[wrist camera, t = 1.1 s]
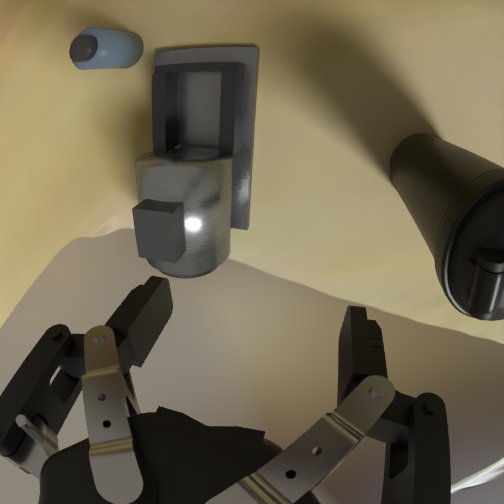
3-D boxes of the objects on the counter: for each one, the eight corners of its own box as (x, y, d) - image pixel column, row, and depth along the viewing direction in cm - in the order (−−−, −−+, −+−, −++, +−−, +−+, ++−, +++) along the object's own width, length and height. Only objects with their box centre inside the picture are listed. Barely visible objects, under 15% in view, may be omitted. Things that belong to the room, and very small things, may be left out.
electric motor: (160, 52, 29) (89, 45, 18) (259, 48, 27) (224, 24, 16) (164, 229, 41) (114, 283, 30) (248, 241, 40) (218, 307, 29)
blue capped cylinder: (112, 36, 28) (65, 33, 20) (144, 30, 27) (98, 21, 20) (111, 70, 31) (63, 73, 23) (142, 65, 30) (96, 65, 22)
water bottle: (458, 205, 31) (557, 334, 11) (385, 213, 34) (443, 365, 14) (456, 125, 26) (598, 196, 7) (377, 129, 29) (473, 205, 10)
